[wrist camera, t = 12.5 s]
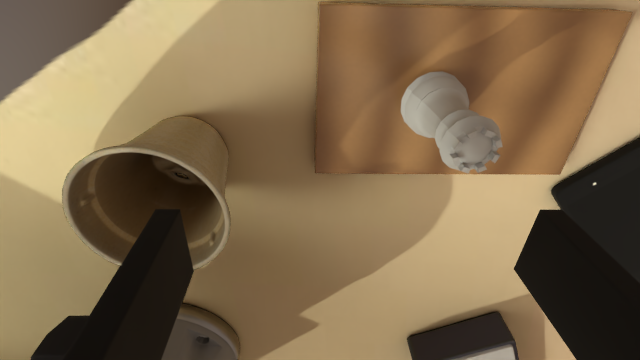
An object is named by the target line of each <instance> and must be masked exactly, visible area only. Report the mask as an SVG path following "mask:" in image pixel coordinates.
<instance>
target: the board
mask: <svg viewBox="0 0 640 360" xmlns="http://www.w3.org/2000/svg"><path fill="white" fill-rule="evenodd" d="M631 15H632V12H627V11H620V10H599V9H562V8H524V7H486V6H449V5H411V4H373V3H335V2H319V3H318V43H317V90H316V137H315V173H364V174H468V173H465V172H462V171H459V170H456V169H452V168H449V167H448V166H447V165H446V164H445V163H444V162H443V161H442V158H441V155H440V152H439V151H440V149H439V148H438V147H437V144H436V141H435V138H427V137H424V136H421V135H419V134H416V133H415V132H414V131H413V130H412V129H411V128H410V127H409V126H408V125H407V124H406V123H405V122H404V119H403V117H402V114H401V100H402V97H403V95H404V93H405V91H406V89H407V87H408V86H409V85H411V84H412V83H413V82H414V81H415V80H416V79H417V78H418V77H420V76H423V75H425V74H427V73H429V72H442V71H443V72H446V73H448V74H451V75H453V76H455V77H456V78H457V80H458V81H459V82H460V83H461V84H462V85H463V86H464V87H465V88H466V91H467V95H468V99H469V110H471V111H474V112H476V113H478V114H479V116H484V117H487V118H489V119H492V120H493V121H494V122H495V123H496V124H497V125H498V127H499V129H500V134H501V142H502V146H503V147H500V148H498V150H497V151H496V152H497V153H499V154H500V157H499V158H498V160H497V161H496V163H494V162H492V161H491V160H489V161H488V162H487V163H486V164H484V165H485V167H486V168H487V170H485V171H482V172H479V173H477V171H476V170H475V169H472V170H470V172H469V174H561V171H562V169H563V167H564V165H565V162H566V160H567V158H568V156H569V153H570V151H571V149H572V147H573V145H574V142H575V140H576V138H577V136H578V133H579V131H580V129H581V127H582V125H583V122H584V120H585V118H586V116H587V113H588V111H589V109H590V107H591V104H592V102H593V100H594V98H595V96H596V93H597V91H598V89H599V87H600V84H601V82H602V80H603V78H604V76H605V73H606V71H607V69H608V67H609V64H610V62H611V60H612V58H613V56H614V53H615V51H616V49H617V47H618V44H619V42H620V40H621V38H622V35H623V33H624V31H625V29H626V27H627V24H628V22H629V20H630V18H631Z"/></svg>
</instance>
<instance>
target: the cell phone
mask: <svg viewBox="0 0 640 360" xmlns="http://www.w3.org/2000/svg"><path fill="white" fill-rule="evenodd" d="M551 193H552V195H553V197H554V198H555V200H556V202H557V203H558V205H559V207H560V209H561V210H563V211H564V212H565V213H566V214H567V215H568V216H569V217H570V218H571V219H572V220H573V221H574V222H576V223H577V224H578V225H579V226H580V227H581V228H582V229H583V230H584V231H585V232H586V233H587V234H588V235H589V236H590V237H591V238H593V239H594V240H595V241H596V242H597V243H598V244H599V245H600V246H601V247H602V248H603V249H604V250H605V251H606V252H607V253H608V254H610V255H611V256H612V257H613V258H614V259H615V260H616V261H617V262H618V263H619V264H620V265H621V266H622V267H623V268H624V269H625V270H626V271H628V272H629V273H630V274H631V275H632V276H633V277H634V278H635V279H636V280H637V281H638V282H639V283H640V138H639V139H637V140H635V141H634V142H632V143H630V144H628V145H626V146H625V147H623V148H621V149H619V150H618V151H616V152H614V153H612V154H610V155H609V156H607V157H605V158H603V159H602V160H600V161H598V162H596V163H594V164H593V165H591V166H589V167H587V168H586V169H584V170H582V171H580V172H578V173H577V174H575V175H573V176H571V177H570V178H568V179H566V180H564V181H563V182H561V183H559V184H557V185H556V186H555V187H554V188H553V189H552V191H551Z"/></svg>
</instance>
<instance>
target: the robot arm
mask: <svg viewBox="0 0 640 360" xmlns="http://www.w3.org/2000/svg"><path fill="white" fill-rule="evenodd" d="M514 270H515V271H516V273H517V274H518V276H519V277H520V279H521V280H522V281H523V283H524V284H525V286H526V287H527V289H528V290H529V292H530V293H531V294H532V296H533V297H534V299H535V300H536V302H537V303H538V305H539V306H540V307H541V309H542V310H543V312H544V313H545V315H546V316H547V318H548V319H549V320H550V322H551V323H552V325H553V326H554V328H555V329H556V331H557V332H558V333H559V335H560V336H561V338H562V339H563V341H564V342H565V344H566V345H567V346H568V348H569V349H570V351H571V352H572V354H573V355H574V357H575V358H576V359H577V360H640V283H639V282H638V281H637V280H636V279H635V278H634V277H633V276H632V275H631V274H630V273H629V272H628V271H626V270H625V269H624V268H623V267H622V266H621V265H620V264H619V263H618V262H617V261H616V260H615V259H614V258H613V257H612V256H611V255H610V254H608V253H607V252H606V251H605V250H604V249H603V248H602V247H601V246H600V245H599V244H598V243H597V242H596V241H595V240H594V239H593V238H591V237H590V236H589V235H588V234H587V233H586V232H585V231H584V230H583V229H582V228H581V227H580V226H579V225H578V224H577V223H576V222H574V221H573V220H572V219H571V218H570V217H569V216H568V215H567V214H566V213H565V212H564V211H563V210H540V211H539V213H538V216H537V218H536V220H535V222H534V225H533V227H532V229H531V231H530V234H529V236H528V238H527V240H526V243H525V245H524V247H523V249H522V252H521V254H520V256H519V258H518V261H517V263H516V265H515V267H514ZM193 272H194V270H193V265H192V261H191V256H190V252H189V247H188V243H187V238H186V234H185V229H184V225H183V220H182V216H181V211H180V209H155V211H154V213H153V214H152V216H151V217H150V219H149V221H148V222H147V224H146V225H145V227H144V229H143V230H142V232H141V234H140V235H139V237H138V238H137V240H136V242H135V243H134V245H133V246H132V248H131V250H130V251H129V253H128V255H127V256H126V258H125V259H124V261H123V263H122V264H121V266H120V267H119V269H118V271H117V272H116V274H115V276H114V277H113V279H112V280H111V282H110V284H109V285H108V287H107V288H106V290H105V292H104V293H103V295H102V297H101V298H100V300H99V301H98V303H97V305H96V306H95V308H94V309H93V311H92V313H91V314H90V316H68V317H67V318H66V319H65V320H63V321H62V322H61V323H60V324H59V325H58V326H56V327H55V328H54V329H53V330H52V331H51V332H50V333H48V334H47V335H46V337H45V338H44V339H43V341H42V342H41V344H40V345H39V347H38V348H37V349H36V351H35V352H34V354H33V355H32V357H31V360H238V358H239V352H240V344H239V340H238V338H237V336H236V334H235V332H234V331H233V330H232V328H231V327H230V326H229V325H228V324H227V323H225V322H224V321H223V320H221V319H220V318H219V317H217V316H215V315H213V314H212V313H210V312H207V311H205V310H203V309H200V308H197V307H194V306H190V305H186V304H182V302H183V299H184V297H185V294H186V291H187V288H188V286H189V283H190V280H191V277H192V275H193Z"/></svg>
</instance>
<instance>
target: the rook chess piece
mask: <svg viewBox="0 0 640 360" xmlns="http://www.w3.org/2000/svg"><path fill="white" fill-rule="evenodd" d="M401 114H402V117H403V119H404V122H405V123H406V124H407V125H408V126H409V127H410V128H411V129H412V130H413V131H414V132H415V133H416V134H419V135H421V136H424V137H427V138H435V141H436V144H437V147H438V148H439V149H440V151H439V152H440V155H441V158H442V161H443V162H444V163H445V164H446V165H447V166H448V167H449V168H452V169H456V170H459V171H462V172H465V173H468V174H469V172H470V170H472V169H475V170H476V171H477V173H479V172H482V171H485V170H487V168H486V167H485V165H484V164H486V163H487V162H488V161H489V160H491V161H492V162H494V163H496V161H497V160H498V158H499V157H500V154H499V153H497V152H496V151H497V150H498V148H500V147H503V146H502V142H501V134H500V129H499V127H498V125H497V124H496V123H495V122H494V121H493V120H492V119H489V118H487V117H484V116H479V114H478V113H476V112H474V111H471V110H469V99H468V95H467V91H466V88H465V87H464V86H463V85H462V84H461V83H460V82H459V81H458V80H457V78H456V77H455V76H453V75H451V74H448V73H446V72H443V71H442V72H429V73H427V74H425V75H423V76H420V77H418V78H417V79H416V80H415V81H414V82H413V83H412V84H411V85H409V86H408V87H407V89H406V91H405V93H404V95H403V97H402V100H401Z"/></svg>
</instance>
